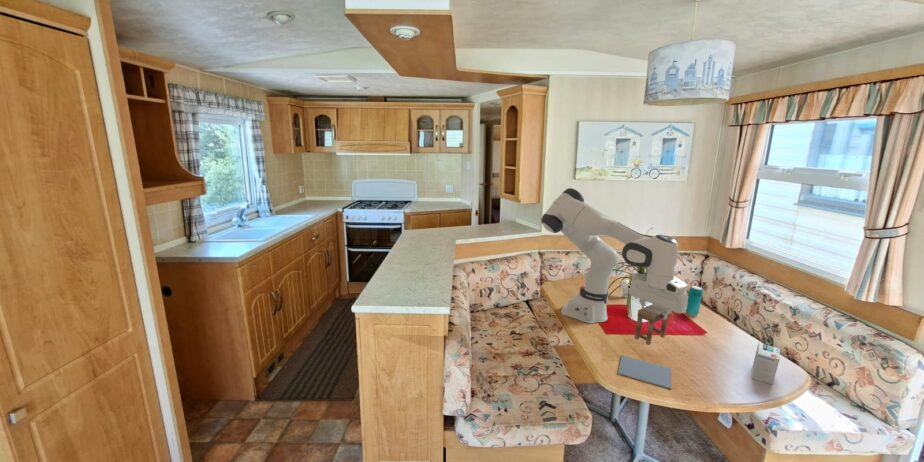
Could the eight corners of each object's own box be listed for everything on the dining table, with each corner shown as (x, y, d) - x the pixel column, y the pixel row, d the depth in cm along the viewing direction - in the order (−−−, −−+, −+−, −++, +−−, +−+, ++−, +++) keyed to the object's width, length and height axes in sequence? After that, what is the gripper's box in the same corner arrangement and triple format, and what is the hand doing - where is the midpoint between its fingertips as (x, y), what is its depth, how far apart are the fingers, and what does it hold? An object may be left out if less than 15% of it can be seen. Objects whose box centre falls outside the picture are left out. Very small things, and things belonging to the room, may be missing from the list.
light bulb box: (752, 365, 151) (758, 341, 149) (773, 372, 147) (780, 348, 144) (750, 378, 143) (757, 352, 141) (773, 385, 139) (780, 359, 136)
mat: (617, 373, 143) (617, 372, 143) (621, 356, 155) (621, 355, 155) (670, 389, 135) (671, 388, 135) (670, 369, 147) (670, 368, 147)
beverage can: (699, 317, 192) (705, 290, 189) (687, 316, 193) (692, 288, 190) (695, 312, 198) (700, 285, 194) (683, 311, 199) (688, 284, 195)
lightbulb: (618, 298, 212) (621, 280, 210) (618, 294, 218) (620, 277, 215) (630, 300, 210) (633, 282, 208) (630, 296, 216) (632, 278, 213)
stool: (654, 303, 144) (638, 310, 138) (670, 309, 139) (654, 316, 133) (649, 330, 147) (633, 338, 141) (665, 337, 142) (649, 345, 136)
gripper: (628, 272, 143) (623, 306, 146) (684, 291, 126) (677, 328, 130) (637, 269, 146) (632, 302, 149) (692, 287, 130) (686, 323, 133)
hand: (653, 314), depth 139 cm, fingers closed on stool, 6 cm apart
